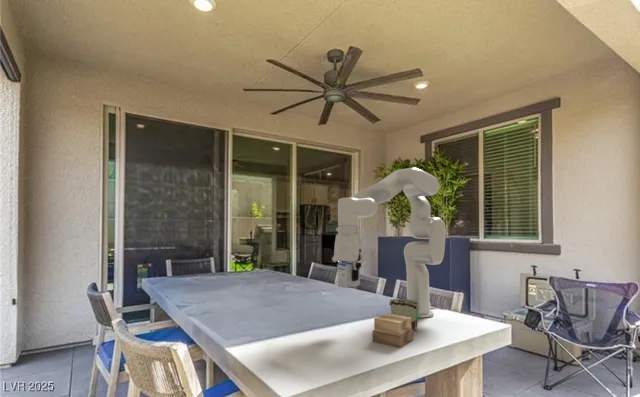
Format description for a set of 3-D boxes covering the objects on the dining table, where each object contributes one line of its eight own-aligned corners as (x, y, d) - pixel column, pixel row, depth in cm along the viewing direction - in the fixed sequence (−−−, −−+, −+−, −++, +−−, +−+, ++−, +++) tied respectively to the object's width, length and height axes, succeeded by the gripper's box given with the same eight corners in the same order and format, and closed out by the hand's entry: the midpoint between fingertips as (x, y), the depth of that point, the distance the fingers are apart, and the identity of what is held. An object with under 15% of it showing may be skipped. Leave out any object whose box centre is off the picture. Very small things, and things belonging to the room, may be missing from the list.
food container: (426, 329, 134) (426, 301, 135) (418, 332, 130) (418, 304, 131) (397, 323, 143) (397, 297, 144) (389, 326, 138) (389, 299, 139)
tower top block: (387, 324, 127) (387, 313, 127) (411, 329, 121) (411, 317, 121) (374, 330, 120) (374, 318, 120) (398, 335, 114) (398, 323, 114)
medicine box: (351, 284, 137) (350, 261, 138) (360, 285, 134) (360, 262, 135) (337, 286, 132) (337, 263, 132) (346, 288, 129) (346, 263, 129)
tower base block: (386, 335, 127) (386, 324, 128) (413, 341, 121) (413, 329, 121) (372, 343, 120) (372, 330, 120) (400, 349, 113) (399, 336, 114)
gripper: (324, 230, 137) (324, 279, 135) (362, 231, 126) (363, 283, 125) (335, 230, 143) (336, 276, 141) (373, 230, 132) (374, 280, 131)
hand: (348, 279), depth 133 cm, fingers closed on medicine box, 4 cm apart
